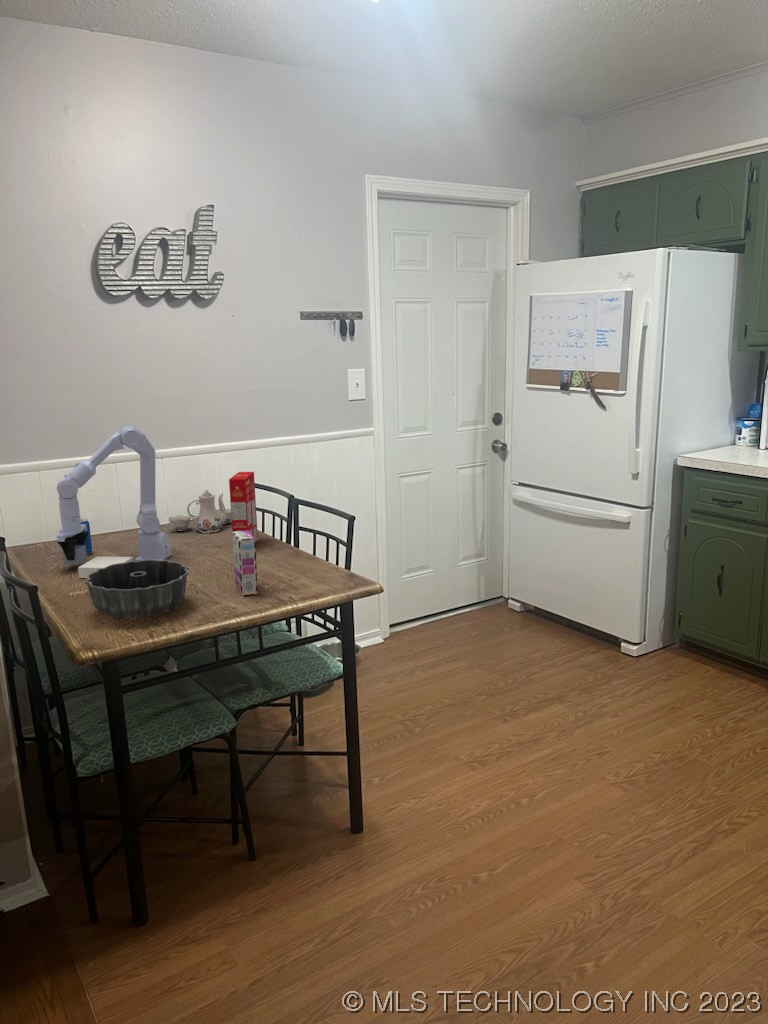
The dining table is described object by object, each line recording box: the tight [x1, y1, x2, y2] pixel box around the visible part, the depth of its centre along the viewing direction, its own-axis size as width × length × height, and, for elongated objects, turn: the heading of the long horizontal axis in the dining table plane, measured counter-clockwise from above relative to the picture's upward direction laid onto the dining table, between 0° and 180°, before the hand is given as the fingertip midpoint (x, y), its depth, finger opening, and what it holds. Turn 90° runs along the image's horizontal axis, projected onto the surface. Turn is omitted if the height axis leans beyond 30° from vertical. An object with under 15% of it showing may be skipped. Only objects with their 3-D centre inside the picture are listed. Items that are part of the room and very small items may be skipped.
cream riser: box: [77, 556, 134, 578], centre depth 234 cm, size 12×12×4 cm
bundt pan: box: [84, 559, 190, 620], centre depth 202 cm, size 26×26×10 cm
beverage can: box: [80, 517, 93, 556], centre depth 255 cm, size 6×6×12 cm
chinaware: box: [166, 489, 232, 532], centre depth 287 cm, size 28×17×17 cm, turn 130°
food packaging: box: [228, 471, 259, 540], centre depth 261 cm, size 15×5×25 cm, turn 178°
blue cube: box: [62, 545, 88, 565], centre depth 240 cm, size 5×5×5 cm
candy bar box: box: [231, 530, 259, 593], centre depth 214 cm, size 11×5×16 cm, turn 21°
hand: (75, 557), depth 241 cm, fingers closed on blue cube, 5 cm apart
